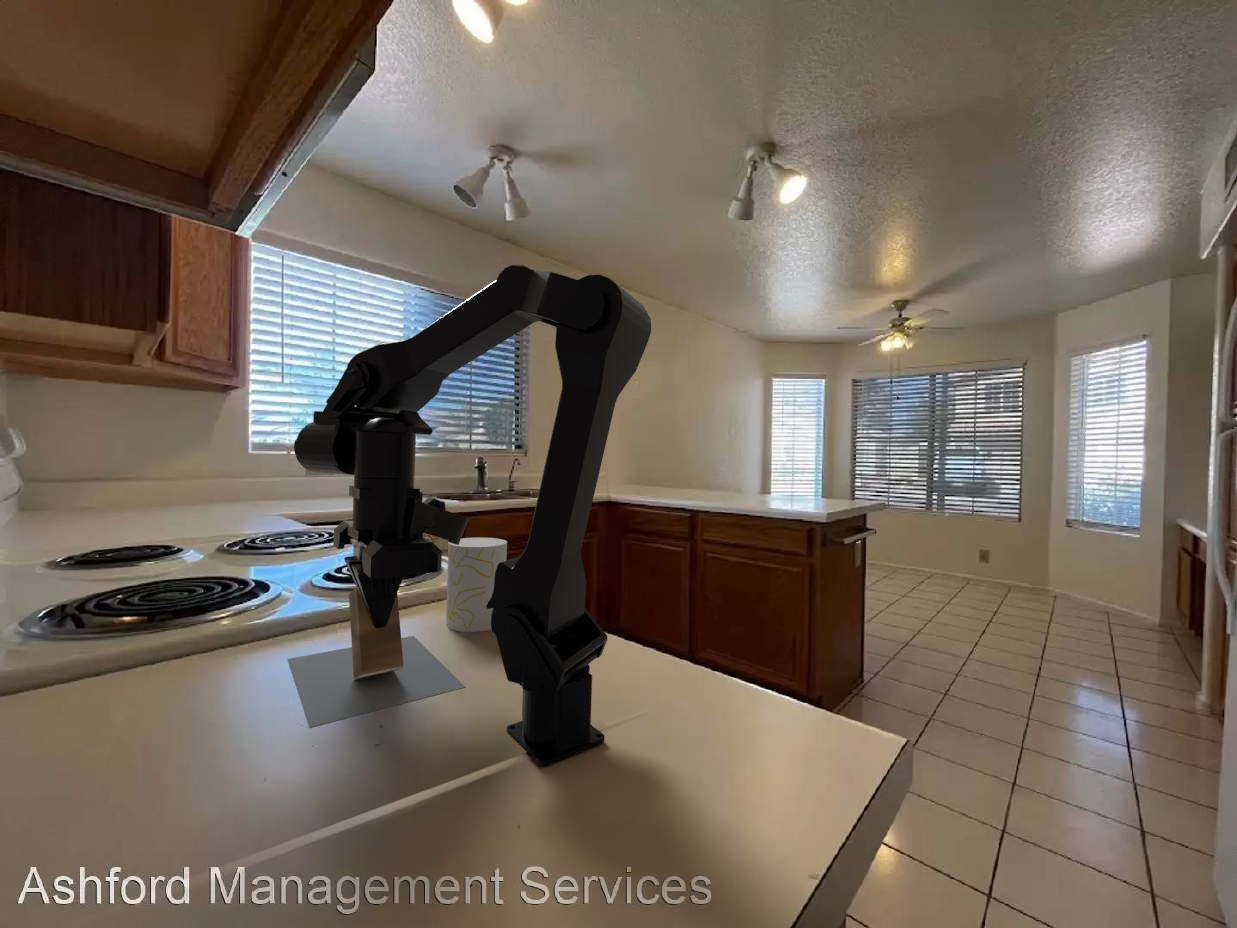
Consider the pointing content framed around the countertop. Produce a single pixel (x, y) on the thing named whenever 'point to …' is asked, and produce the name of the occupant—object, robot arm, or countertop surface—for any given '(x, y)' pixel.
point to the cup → (472, 582)
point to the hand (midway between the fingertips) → (380, 626)
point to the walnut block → (374, 640)
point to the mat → (366, 683)
